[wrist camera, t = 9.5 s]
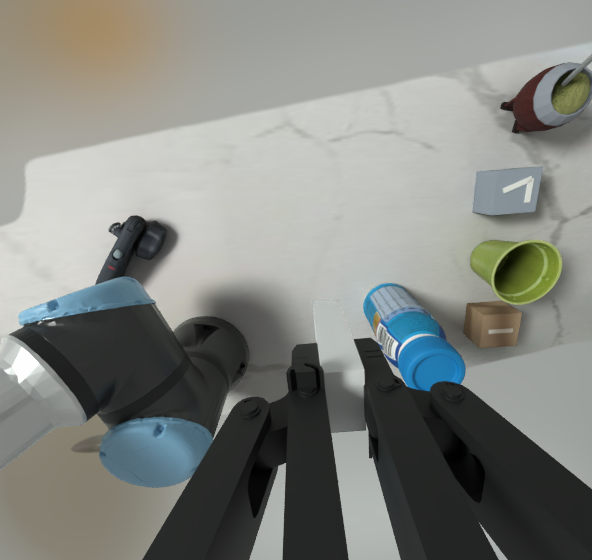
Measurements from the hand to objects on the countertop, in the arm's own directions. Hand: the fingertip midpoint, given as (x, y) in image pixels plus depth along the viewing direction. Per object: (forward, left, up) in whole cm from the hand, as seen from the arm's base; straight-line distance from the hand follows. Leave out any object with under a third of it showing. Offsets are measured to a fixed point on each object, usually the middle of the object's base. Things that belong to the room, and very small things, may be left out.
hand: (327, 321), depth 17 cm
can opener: (-27, +15, -33) cm, 45 cm away
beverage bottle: (+3, -18, -32) cm, 37 cm away
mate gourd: (+34, -3, -32) cm, 47 cm away
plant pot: (+21, -21, -32) cm, 44 cm away
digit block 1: (+16, -31, -32) cm, 47 cm away
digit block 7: (+27, -12, -32) cm, 44 cm away
